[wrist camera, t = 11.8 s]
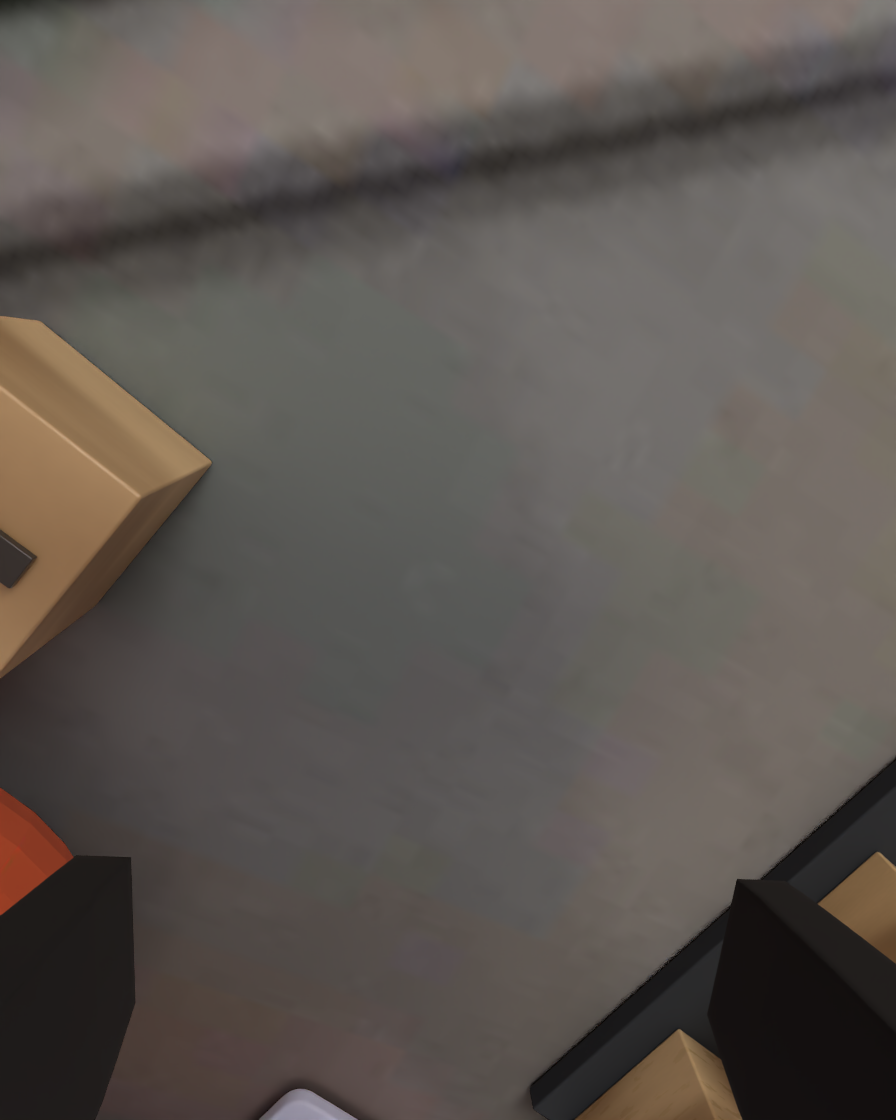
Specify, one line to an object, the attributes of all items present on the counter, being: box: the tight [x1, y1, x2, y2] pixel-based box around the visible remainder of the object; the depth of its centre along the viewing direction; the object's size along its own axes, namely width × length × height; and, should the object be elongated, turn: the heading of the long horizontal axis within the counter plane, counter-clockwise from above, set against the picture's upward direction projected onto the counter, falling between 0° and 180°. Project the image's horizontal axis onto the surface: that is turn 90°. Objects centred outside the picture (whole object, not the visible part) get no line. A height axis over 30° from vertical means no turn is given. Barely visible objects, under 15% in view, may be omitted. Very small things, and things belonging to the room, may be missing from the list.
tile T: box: [0, 316, 212, 678], centre depth 12 cm, size 4×4×4 cm
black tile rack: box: [530, 760, 896, 1120], centre depth 18 cm, size 17×6×1 cm, turn 138°
